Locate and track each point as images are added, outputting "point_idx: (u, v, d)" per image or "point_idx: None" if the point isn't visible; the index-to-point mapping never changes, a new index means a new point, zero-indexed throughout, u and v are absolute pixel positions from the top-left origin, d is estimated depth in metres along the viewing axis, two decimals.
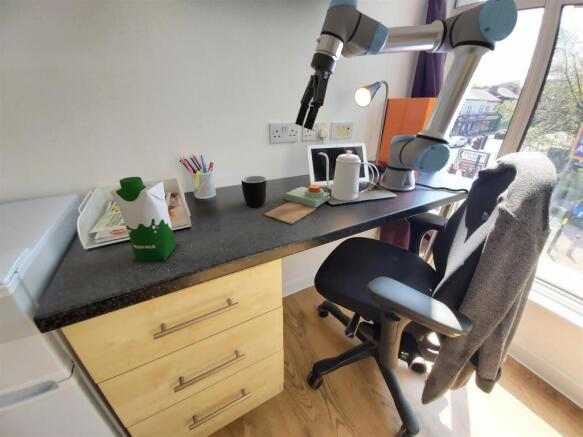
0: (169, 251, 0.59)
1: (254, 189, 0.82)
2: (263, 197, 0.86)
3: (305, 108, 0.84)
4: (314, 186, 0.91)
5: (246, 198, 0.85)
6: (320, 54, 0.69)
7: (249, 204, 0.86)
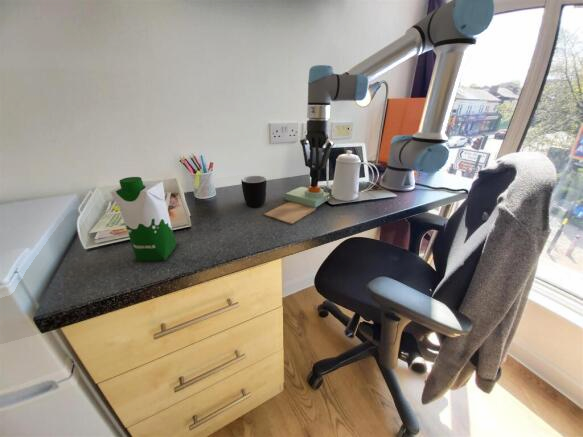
0: (169, 251, 0.59)
1: (254, 189, 0.82)
2: (263, 197, 0.86)
3: None
4: None
5: (246, 198, 0.85)
6: (321, 122, 0.77)
7: (249, 204, 0.86)
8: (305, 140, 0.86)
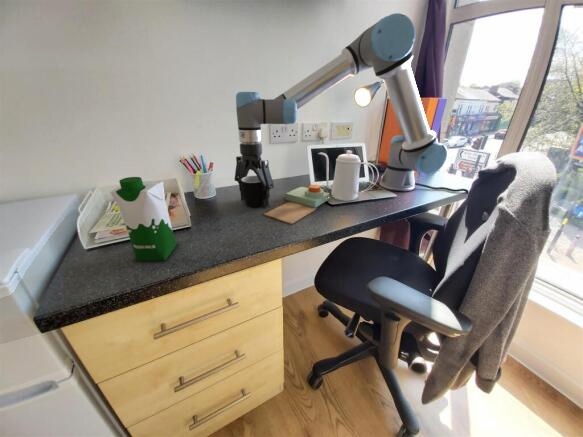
0: (169, 251, 0.59)
1: (254, 189, 0.83)
2: None
3: None
4: (314, 186, 0.91)
5: (246, 198, 0.85)
6: (251, 146, 0.78)
7: (249, 204, 0.86)
8: (241, 159, 0.86)
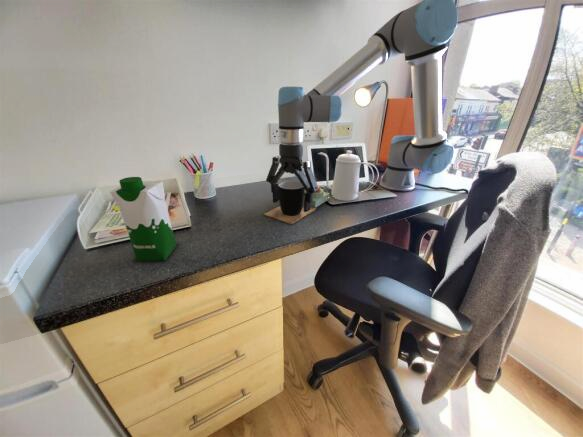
0: (169, 251, 0.59)
1: (293, 196, 0.76)
2: (301, 204, 0.79)
3: (277, 185, 0.84)
4: None
5: (283, 205, 0.78)
6: (293, 147, 0.71)
7: (286, 212, 0.79)
8: (278, 160, 0.78)
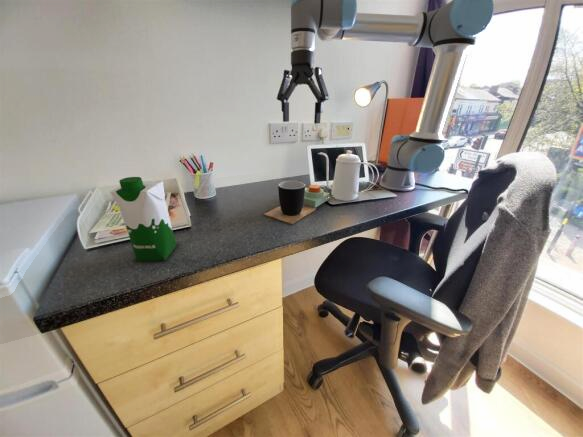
0: (169, 251, 0.59)
1: (293, 196, 0.76)
2: (301, 204, 0.79)
3: (287, 103, 0.86)
4: (314, 186, 0.91)
5: (283, 205, 0.78)
6: (305, 51, 0.72)
7: (286, 212, 0.79)
8: (289, 73, 0.80)
